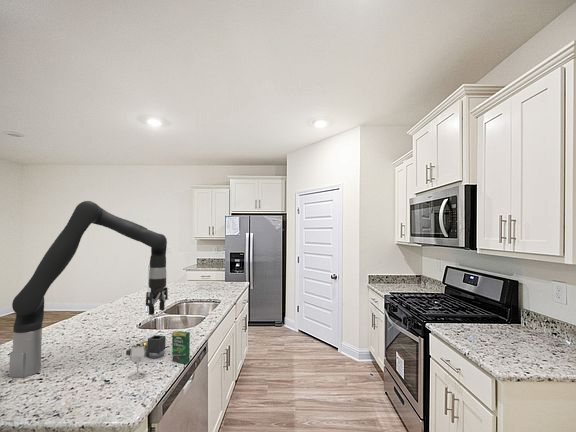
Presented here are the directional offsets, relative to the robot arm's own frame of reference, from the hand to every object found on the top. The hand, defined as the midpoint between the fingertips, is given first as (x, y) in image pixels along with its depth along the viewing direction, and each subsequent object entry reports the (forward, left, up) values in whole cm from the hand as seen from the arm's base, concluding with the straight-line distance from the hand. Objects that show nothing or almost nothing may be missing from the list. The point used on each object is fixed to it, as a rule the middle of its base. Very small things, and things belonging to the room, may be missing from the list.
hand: (156, 312), depth 152 cm
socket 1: (+5, +9, -20) cm, 22 cm away
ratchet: (0, +6, -20) cm, 21 cm away
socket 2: (0, 0, -17) cm, 17 cm away
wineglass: (-20, -4, -20) cm, 29 cm away
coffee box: (-4, -14, -20) cm, 25 cm away
